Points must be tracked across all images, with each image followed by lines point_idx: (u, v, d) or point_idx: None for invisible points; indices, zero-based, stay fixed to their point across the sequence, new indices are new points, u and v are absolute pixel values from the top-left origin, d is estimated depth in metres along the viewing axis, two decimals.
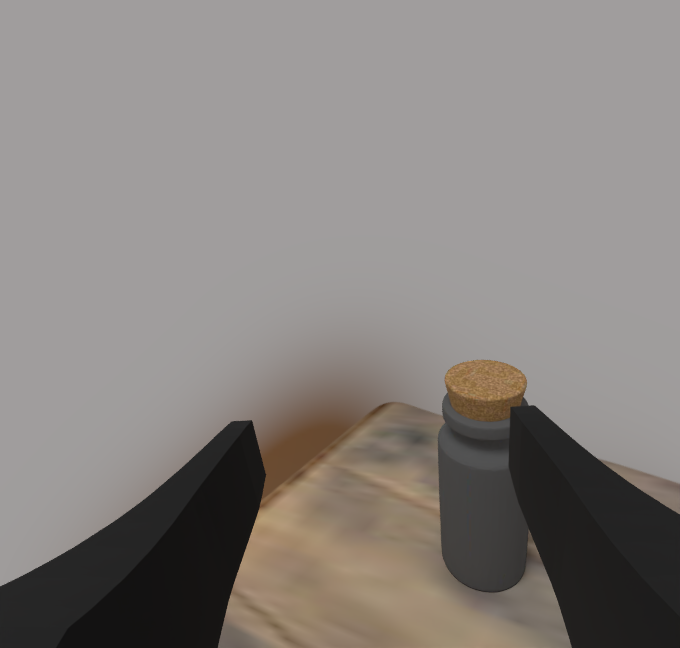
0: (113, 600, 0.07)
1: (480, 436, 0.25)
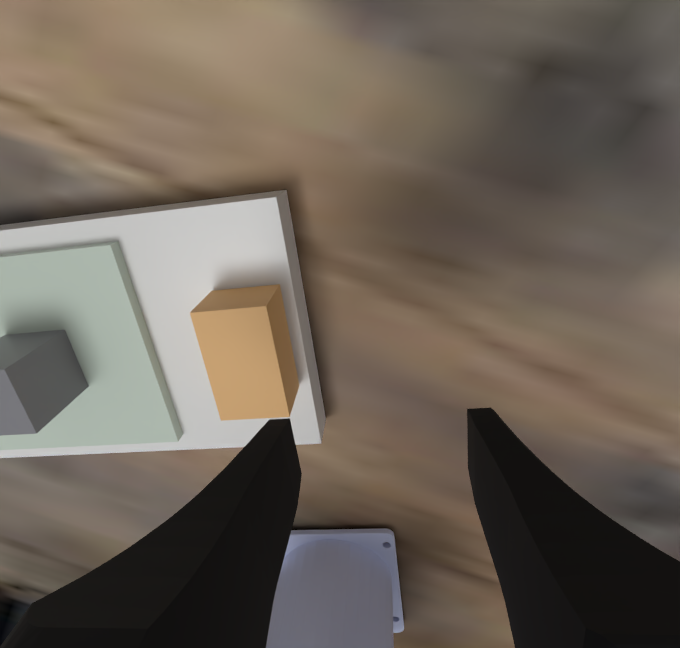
0: (183, 600, 0.06)
1: None
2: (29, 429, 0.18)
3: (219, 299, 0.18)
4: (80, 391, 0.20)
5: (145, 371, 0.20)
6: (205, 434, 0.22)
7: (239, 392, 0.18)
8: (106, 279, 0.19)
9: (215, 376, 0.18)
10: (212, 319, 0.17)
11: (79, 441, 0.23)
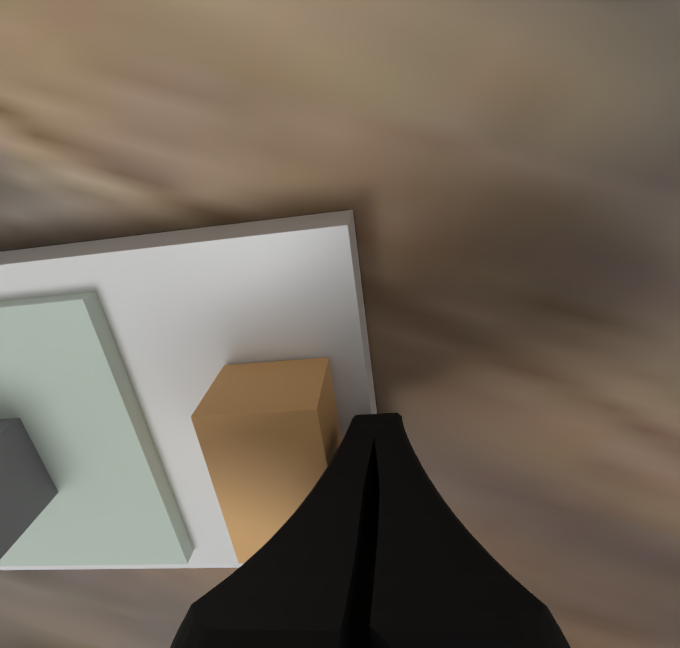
0: (349, 601, 0.06)
1: None
2: None
3: (237, 386, 0.11)
4: (45, 504, 0.14)
5: (139, 475, 0.14)
6: (226, 549, 0.16)
7: (269, 527, 0.12)
8: (78, 349, 0.12)
9: (231, 506, 0.11)
10: (227, 427, 0.10)
11: (48, 559, 0.16)
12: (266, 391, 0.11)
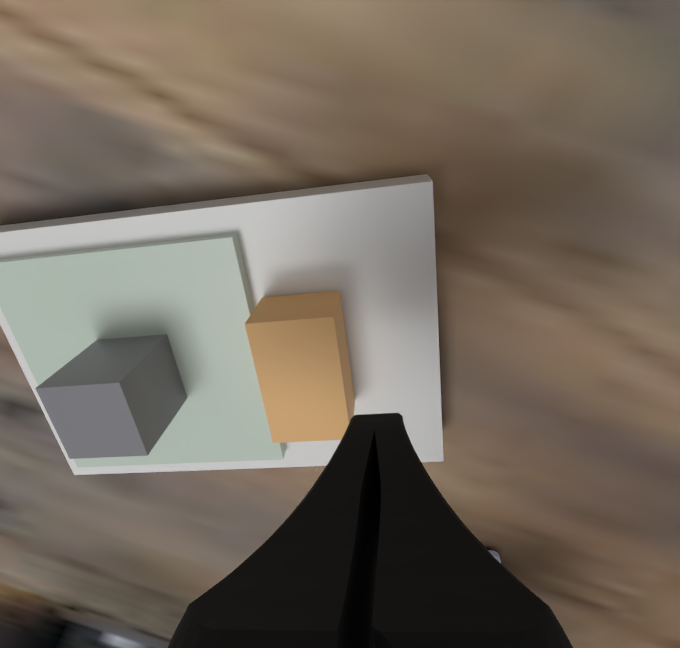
0: (346, 601, 0.06)
1: None
2: (139, 450, 0.15)
3: (274, 307, 0.16)
4: (181, 404, 0.18)
5: (255, 382, 0.18)
6: (311, 450, 0.20)
7: (296, 412, 0.16)
8: (222, 277, 0.16)
9: (269, 395, 0.16)
10: (270, 331, 0.15)
11: (169, 458, 0.20)
12: (296, 309, 0.15)
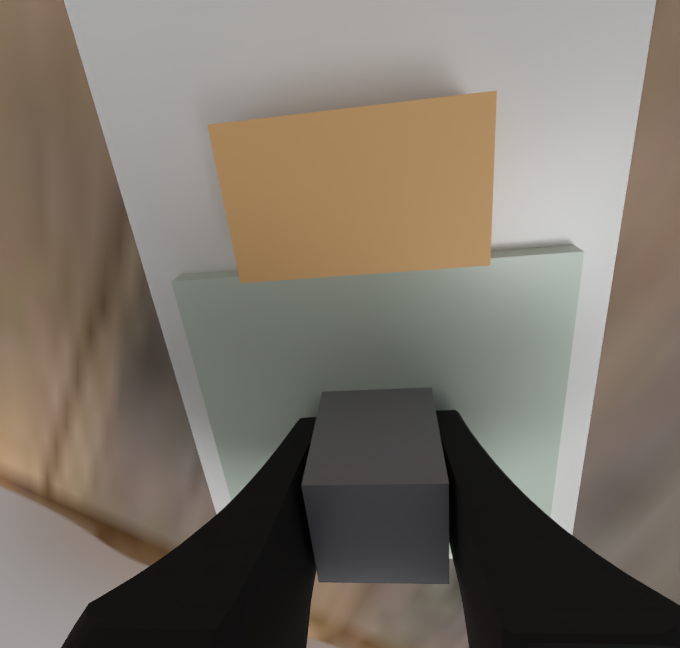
0: (242, 601, 0.06)
1: None
2: (436, 491, 0.09)
3: None
4: (429, 399, 0.11)
5: (405, 281, 0.11)
6: (582, 193, 0.10)
7: (418, 211, 0.08)
8: (229, 303, 0.11)
9: (378, 258, 0.09)
10: (248, 242, 0.09)
11: (548, 436, 0.12)
12: None
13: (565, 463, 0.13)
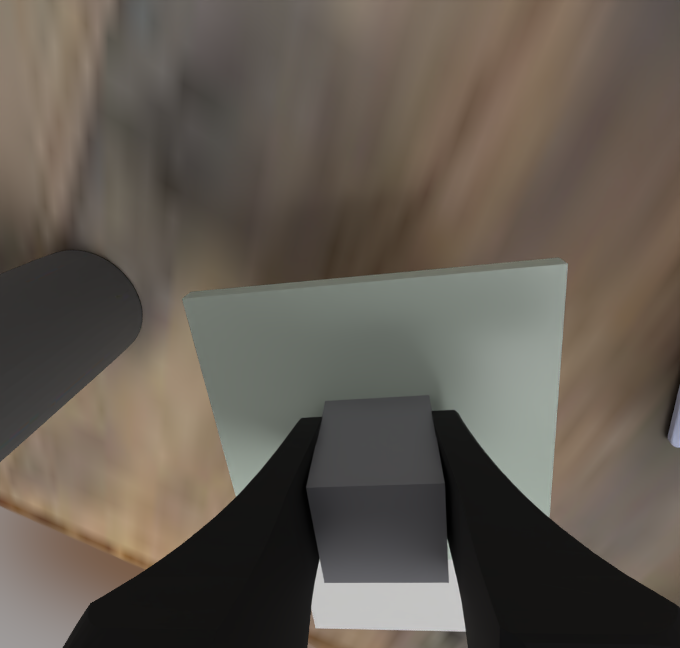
0: (243, 600, 0.06)
1: None
2: (433, 491, 0.09)
3: None
4: (427, 406, 0.12)
5: (401, 295, 0.11)
6: None
7: None
8: (236, 318, 0.12)
9: None
10: None
11: (543, 441, 0.13)
12: None
13: None
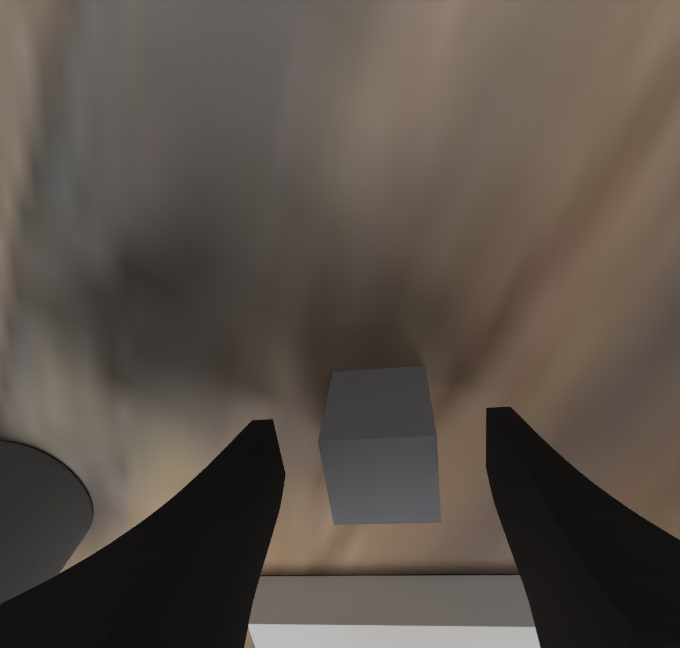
0: (151, 600, 0.06)
1: None
2: (426, 443, 0.11)
3: None
4: (422, 374, 0.14)
5: None
6: None
7: None
8: None
9: None
10: None
11: None
12: None
13: None
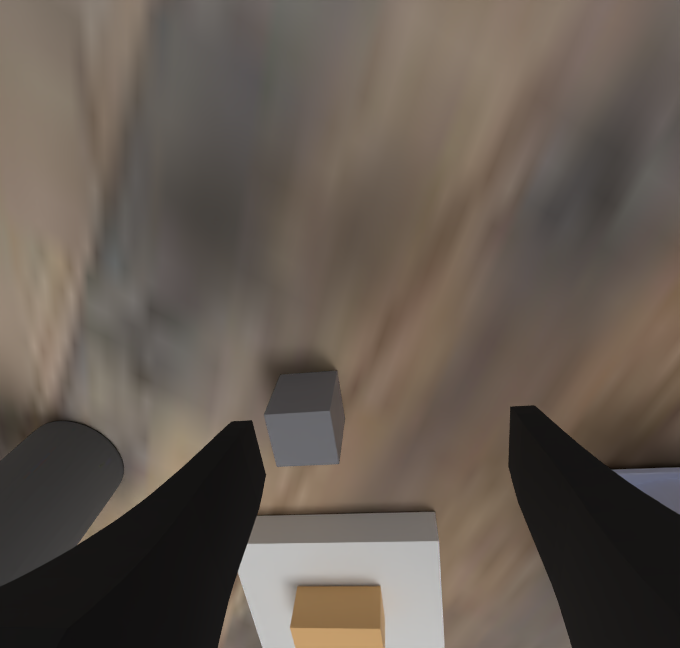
0: (113, 600, 0.07)
1: None
2: (325, 415, 0.20)
3: None
4: (334, 376, 0.22)
5: None
6: (426, 609, 0.27)
7: None
8: None
9: None
10: None
11: None
12: None
13: None
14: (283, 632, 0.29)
